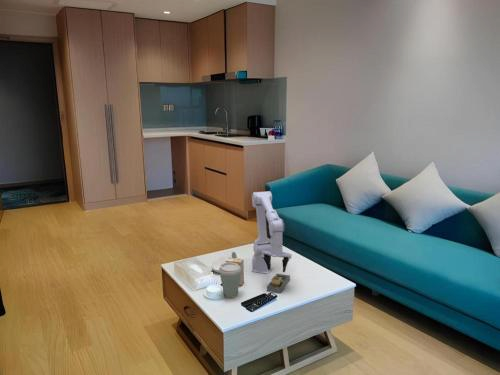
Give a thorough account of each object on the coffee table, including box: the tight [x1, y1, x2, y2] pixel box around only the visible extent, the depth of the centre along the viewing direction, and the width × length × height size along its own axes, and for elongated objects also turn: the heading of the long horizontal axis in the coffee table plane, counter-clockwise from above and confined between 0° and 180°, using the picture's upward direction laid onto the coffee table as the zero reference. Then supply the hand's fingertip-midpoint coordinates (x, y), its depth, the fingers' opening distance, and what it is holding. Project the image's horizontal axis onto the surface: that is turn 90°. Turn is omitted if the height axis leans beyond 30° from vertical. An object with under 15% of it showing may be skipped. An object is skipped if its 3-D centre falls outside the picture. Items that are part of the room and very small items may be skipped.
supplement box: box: [226, 257, 245, 287], centre depth 196 cm, size 8×5×13 cm, turn 71°
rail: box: [266, 273, 291, 294], centre depth 194 cm, size 7×16×2 cm, turn 158°
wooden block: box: [270, 275, 283, 287], centre depth 190 cm, size 4×4×6 cm
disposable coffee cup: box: [219, 262, 241, 299], centre depth 183 cm, size 11×11×15 cm
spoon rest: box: [210, 250, 238, 274], centre depth 217 cm, size 24×12×7 cm, turn 163°
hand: (276, 270), depth 189 cm, fingers open, 7 cm apart
